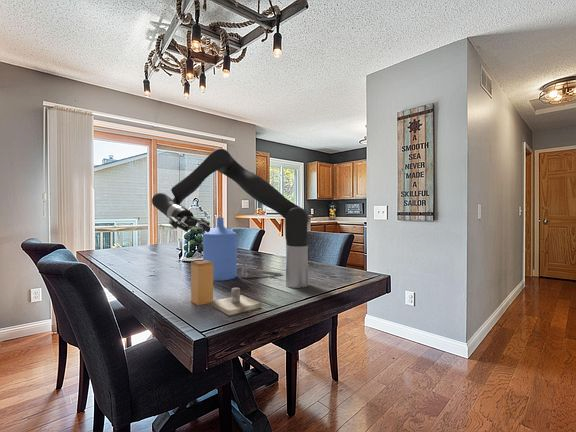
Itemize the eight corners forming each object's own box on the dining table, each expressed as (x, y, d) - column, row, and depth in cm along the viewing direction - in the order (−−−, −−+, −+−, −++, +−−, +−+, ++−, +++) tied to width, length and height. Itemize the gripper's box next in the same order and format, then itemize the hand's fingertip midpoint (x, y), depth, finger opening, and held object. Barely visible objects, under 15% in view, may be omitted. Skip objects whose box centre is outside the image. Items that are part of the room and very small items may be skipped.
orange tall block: (205, 298, 112) (206, 260, 111) (213, 302, 108) (213, 262, 107) (191, 301, 108) (191, 261, 108) (198, 305, 104) (198, 264, 104)
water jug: (227, 282, 135) (227, 218, 134) (196, 279, 140) (196, 218, 139) (242, 275, 150) (242, 217, 149) (213, 272, 155) (213, 217, 154)
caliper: (241, 278, 145) (241, 265, 144) (241, 277, 146) (241, 264, 146) (283, 276, 150) (283, 263, 150) (282, 275, 151) (283, 262, 151)
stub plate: (241, 298, 112) (241, 282, 111) (260, 307, 103) (260, 289, 102) (210, 305, 104) (210, 288, 104) (229, 315, 95) (229, 296, 95)
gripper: (164, 205, 118) (182, 219, 107) (198, 208, 128) (217, 220, 117) (160, 223, 119) (178, 239, 108) (194, 225, 130) (213, 239, 118)
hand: (198, 229), depth 113 cm, fingers open, 8 cm apart
